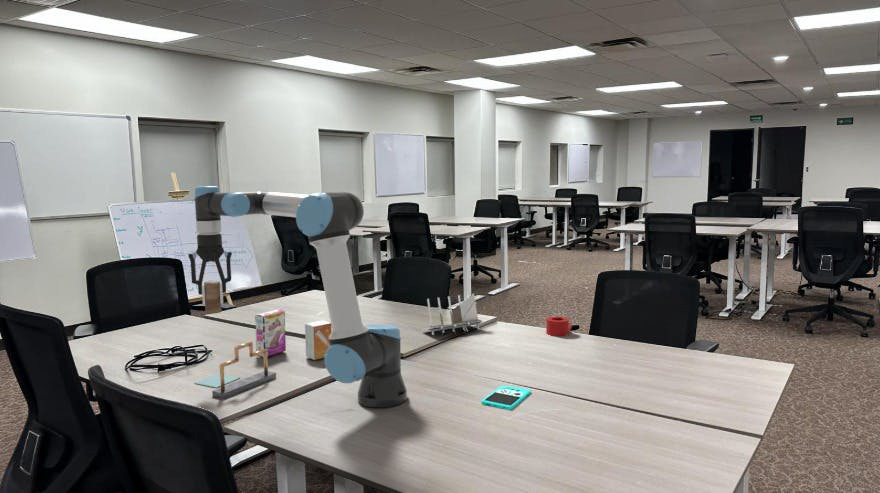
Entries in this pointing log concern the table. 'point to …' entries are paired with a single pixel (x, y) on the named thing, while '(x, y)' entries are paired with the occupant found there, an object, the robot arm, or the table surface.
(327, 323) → the small box
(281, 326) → the candy bar box
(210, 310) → the walnut peg
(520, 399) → the handheld game console
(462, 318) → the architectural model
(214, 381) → the mat
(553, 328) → the red saucepan
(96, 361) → the table surface
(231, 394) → the wire frame
